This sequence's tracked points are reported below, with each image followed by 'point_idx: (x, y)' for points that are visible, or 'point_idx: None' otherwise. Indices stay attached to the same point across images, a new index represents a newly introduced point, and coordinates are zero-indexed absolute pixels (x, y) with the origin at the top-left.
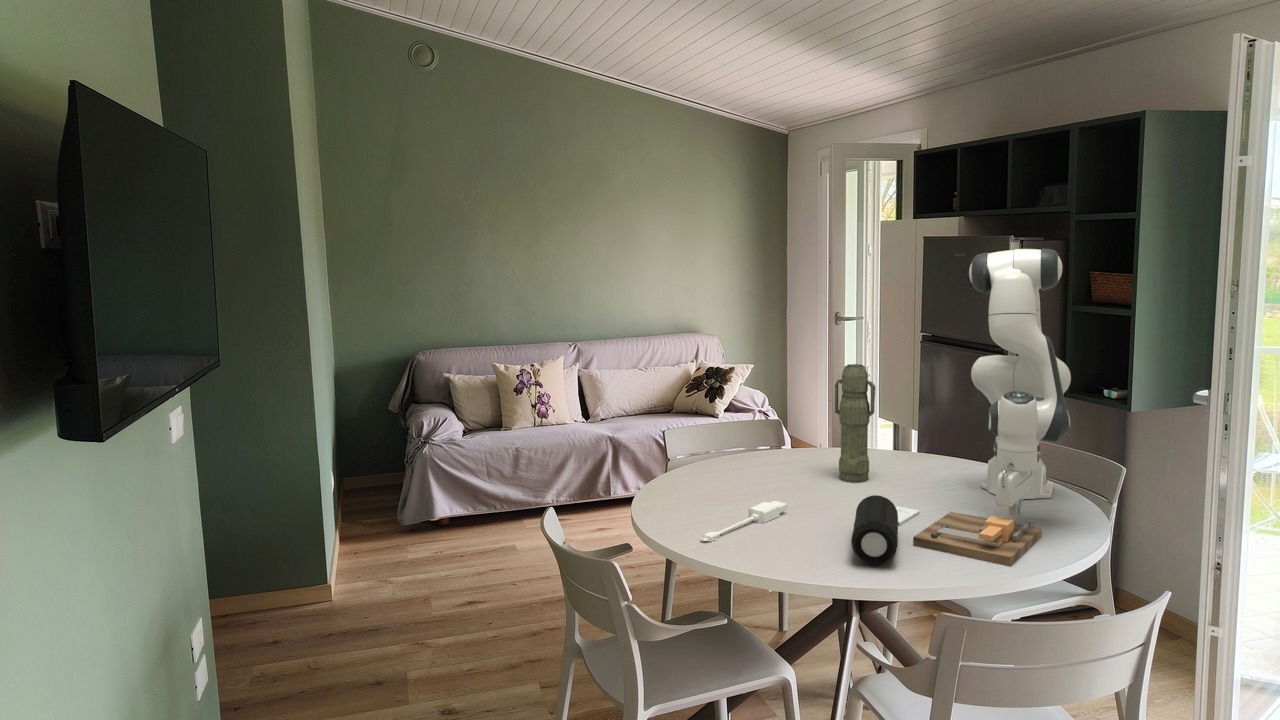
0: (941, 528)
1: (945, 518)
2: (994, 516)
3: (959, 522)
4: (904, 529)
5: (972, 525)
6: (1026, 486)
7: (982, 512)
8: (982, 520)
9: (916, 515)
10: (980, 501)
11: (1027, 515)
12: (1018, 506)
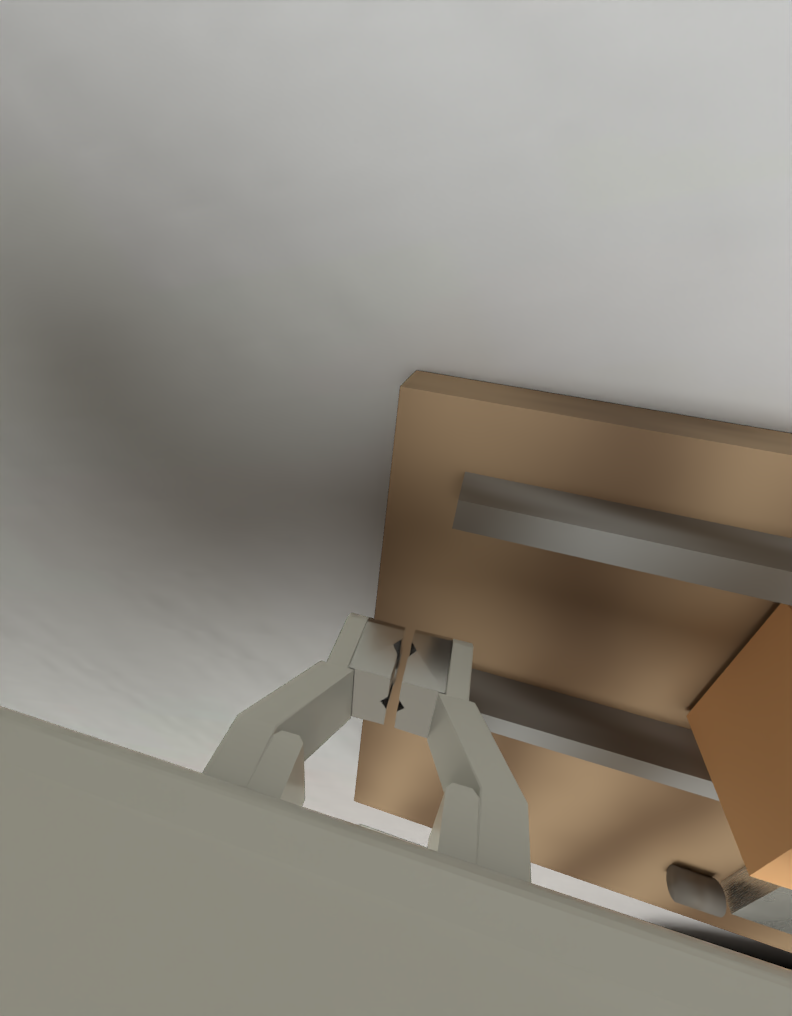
0: (760, 923)
1: None
2: (776, 869)
3: None
4: (587, 890)
5: (545, 768)
6: (70, 980)
7: (190, 659)
8: None
9: (386, 833)
10: (68, 655)
11: (69, 485)
12: (346, 685)
